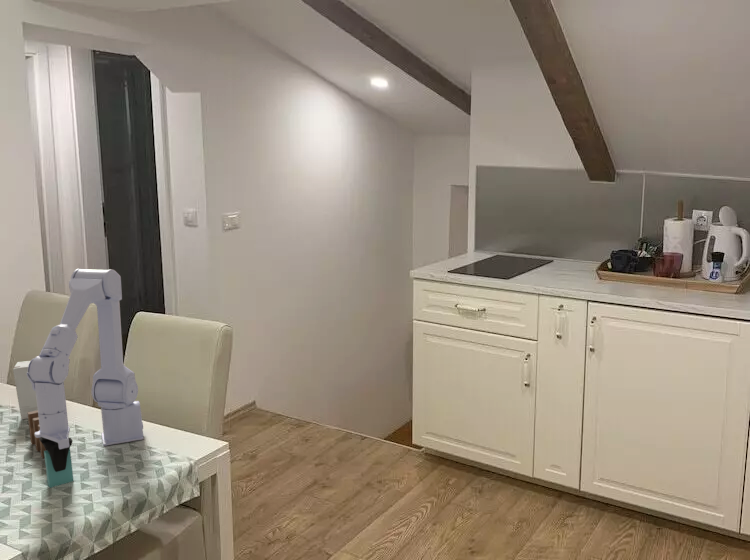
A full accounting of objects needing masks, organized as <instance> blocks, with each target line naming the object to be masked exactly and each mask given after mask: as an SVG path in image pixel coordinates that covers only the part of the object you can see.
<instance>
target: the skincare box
mask: <svg viewBox="0 0 750 560" xmlns="http://www.w3.org/2000/svg"><path fill="white" fill-rule="evenodd" d="M30 361H31V360H26V361H17V362H16V364H15V365H14V366H13V368H12V374H13V378H14V384H15V390H16V397H17V403H18V409H19V413H20V414H19V415H20V419H21V420H28V414H27V413H28V412H32V411H36V410H38V409H37V400H36V391H34V390H33V389H32V383H31V382H30V381H29V379H28V377H27V372H28V366H29V363H30Z"/></svg>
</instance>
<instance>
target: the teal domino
mask: <svg viewBox="0 0 750 560" xmlns="http://www.w3.org/2000/svg"><path fill="white" fill-rule="evenodd" d="M44 456H45V458H44V463H45V471H46V481H47V486H48V487H49V489H50V488H54V487H57V486H61V485H64V484H68V483H72V482H74V474H73V465H72V464H73V463H72V456H71V448H70V449H69V452H68V456H67V463H66V469H65V470H62V471H58V472H56V471H55V470H54V467H53V464H52V461H51V457H50V455H49V452H48V451H47V450H46V451H44Z"/></svg>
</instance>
